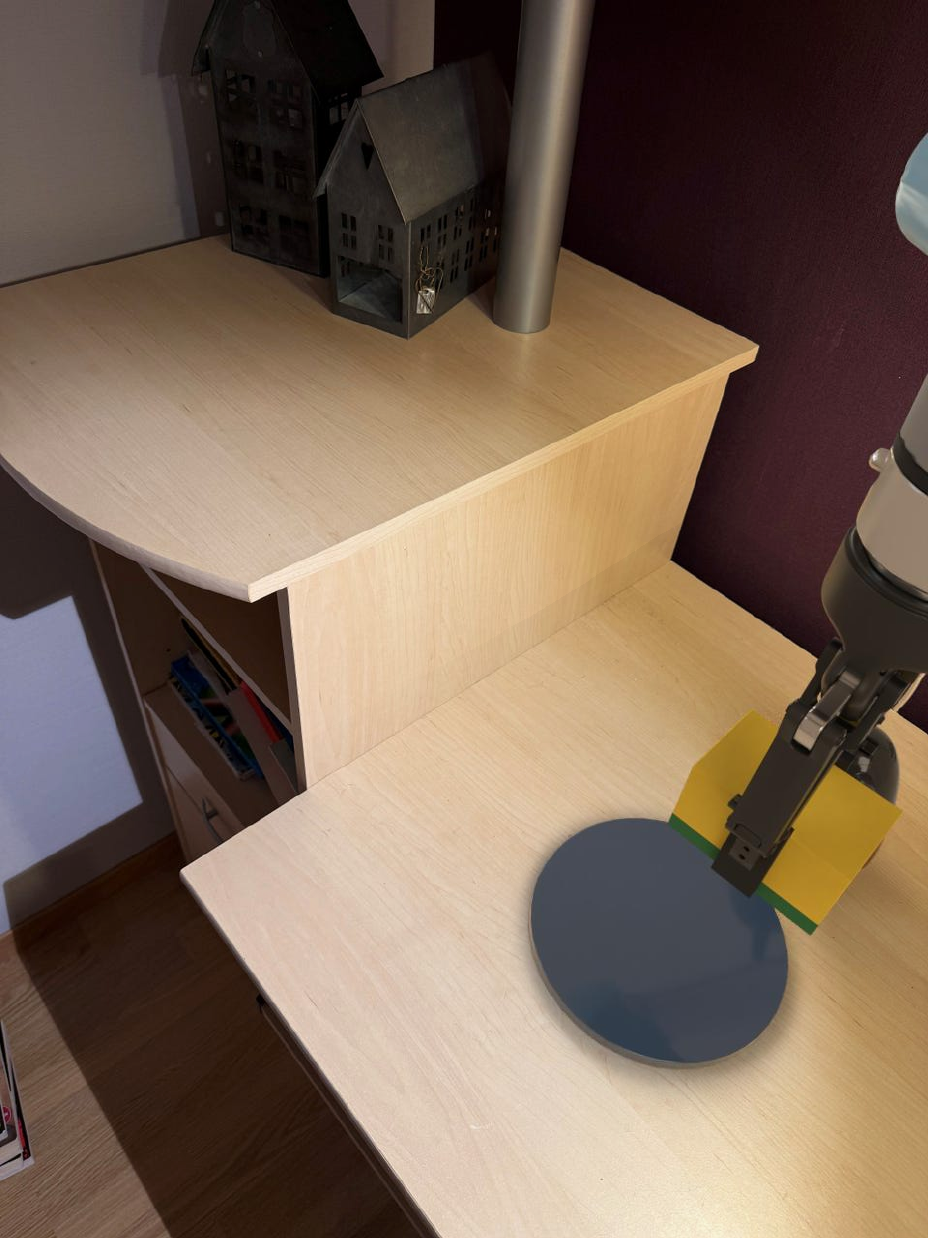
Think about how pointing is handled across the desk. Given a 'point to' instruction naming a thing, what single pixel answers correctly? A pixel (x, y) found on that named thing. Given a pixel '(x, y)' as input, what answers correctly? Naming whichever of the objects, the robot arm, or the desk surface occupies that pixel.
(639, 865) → the plate
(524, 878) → the desk surface
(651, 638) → the desk surface
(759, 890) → the sponge
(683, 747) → the desk surface
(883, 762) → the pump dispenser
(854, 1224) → the desk surface
